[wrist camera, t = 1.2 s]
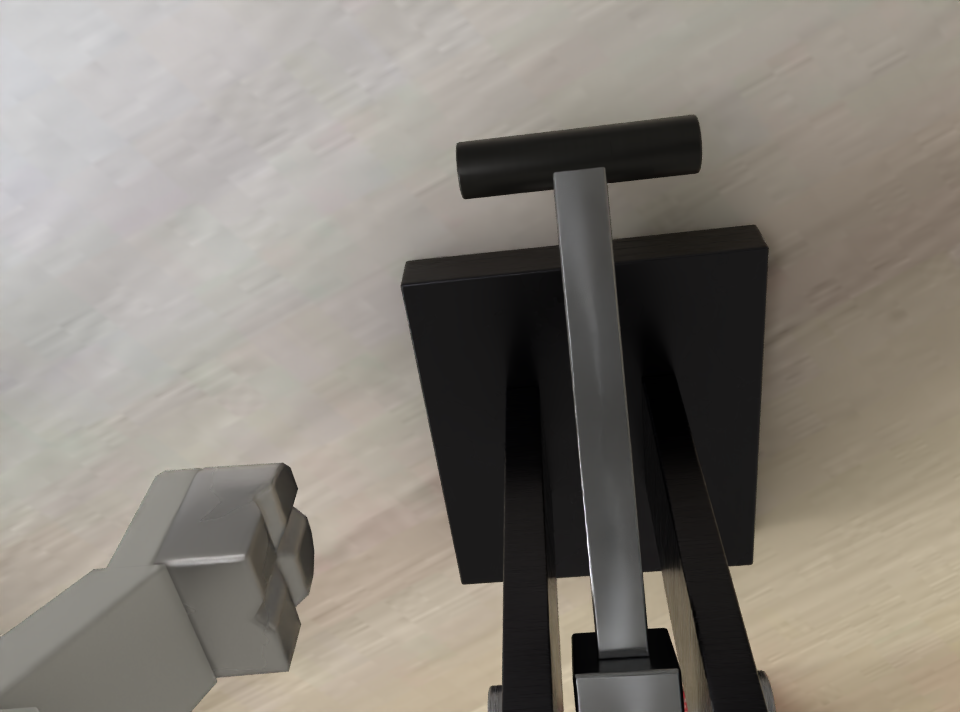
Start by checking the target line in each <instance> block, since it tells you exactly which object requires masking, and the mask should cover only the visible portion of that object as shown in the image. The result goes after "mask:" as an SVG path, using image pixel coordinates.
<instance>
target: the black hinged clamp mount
mask: <svg viewBox="0 0 960 712" xmlns="http://www.w3.org/2000/svg"><path fill="white" fill-rule="evenodd" d="M612 241H613V252H614V263H615V274H616V285H617V296H618V307H619V318H620V329H621V340H622V351H623V362H624V373H625V384H626V395H627V406H628V417H629V428H630V439H631V450H632V461H633V472H634V483H635V494H636V505H637V516H638V527H639V538H640V549H641V560H642V571H643V572H654V571H662V576H663V581H664V587H665V592H666V597H667V603H668V608H669V613H670V619H671V624H672V629H673V634H674V640H675V645H676V650H677V656H678V661H679V666H680V669H681V674H682V682H683V687H684V693H685V698H686V703H687V709H688V712H776V708H775V702H774V696H773V692H772V688H771V684H770V681H769V679H768V677H767V675H766V673H765V672H764V671H762V670H760V671H757V669H756V665H755V662H754V658H753V654H752V651H751V647H750V643H749V640H748V636H747V632H746V629H745V625H744V622H743V618H742V614H741V611H740V607H739V603H738V600H737V596H736V592H735V589H734V585H733V582H732V578H731V574H730V571H729V567H728V566H741V565H752V564H753V552H754V532H755V512H756V492H757V472H758V452H759V432H760V412H761V392H762V372H763V352H764V332H765V312H766V292H767V272H768V252H769V248H768V246H767V244H766V242H765V240H764V239H763V237H762V235H761V233H760V231H759V230H758V228H757V226H756V225H747V226H737V227H728V228H718V229H709V230H699V231H690V232H680V233H671V234H661V235H652V236H642V237H633V238H623V239H614V240H612ZM401 290H402V295H403V300H404V305H405V310H406V315H407V320H408V324H409V329H410V334H411V339H412V344H413V349H414V354H415V359H416V363H417V368H418V373H419V378H420V383H421V388H422V393H423V398H424V402H425V407H426V412H427V417H428V422H429V427H430V432H431V437H432V441H433V446H434V451H435V456H436V461H437V466H438V471H439V476H440V480H441V485H442V490H443V495H444V500H445V505H446V510H447V515H448V519H449V524H450V529H451V534H452V539H453V544H454V549H455V554H456V558H457V563H458V568H459V573H460V578H461V583H462V584H479V583H493V582H503V652H502V685H497V686H491V687H490V688H489V692H488V712H564V708H563V690H562V671H561V653H560V635H559V616H558V598H557V580H556V578H566V577H581V576H590V571H589V560H588V550H587V539H586V528H585V518H584V507H583V496H582V486H581V475H580V465H579V454H578V443H577V433H576V422H575V411H574V401H573V390H572V379H571V369H570V358H569V347H568V337H567V326H566V315H565V305H564V294H563V283H562V273H561V262H560V251H559V245H557V246H547V247H538V248H528V249H519V250H509V251H500V252H491V253H481V254H472V255H462V256H453V257H443V258H434V259H424V260H415V261H407V262H406V264H405V269H404V273H403V278H402V282H401Z"/></svg>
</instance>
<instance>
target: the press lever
mask: <svg viewBox="0 0 960 712" xmlns="http://www.w3.org/2000/svg"><path fill="white" fill-rule="evenodd" d="M456 162H457V173H458V180H459V186H460V191H461V195H462V197H463V199H473V198H482V197H491V196H500V195H509V194H517V193H526V192H535V191H544V190H553V189H554V198H555V209H556V219H557V230H558V241H559V251H560V262H561V273H562V283H563V294H564V305H565V315H566V326H567V337H568V347H569V358H570V369H571V379H572V390H573V401H574V411H575V422H576V433H577V443H578V454H579V465H580V475H581V486H582V496H583V507H584V518H585V528H586V539H587V550H588V560H589V571H590V582H591V592H592V603H593V614H594V624H595V632H590V633H575V634H573V635H572V671H573V686H574V697H575V707H576V712H685V708H684V697H683V686H682V674H681V669H680V666H679V663H678V660H677V657H676V654H675V651H674V648H673V645H672V642H671V639H670V636H669V633H668V630H667V629H666V628H654V629H648V626H647V615H646V604H645V593H644V582H643V571H642V560H641V549H640V538H639V527H638V516H637V505H636V494H635V483H634V472H633V461H632V450H631V439H630V428H629V417H628V406H627V395H626V384H625V373H624V362H623V351H622V340H621V329H620V318H619V307H618V296H617V285H616V274H615V263H614V252H613V241H612V230H611V219H610V208H609V197H608V186H607V183H616V182H625V181H634V180H643V179H652V178H661V177H670V176H679V175H688V174H696V173H699V172H700V169H701V164H702V139H701V131H700V125H699V121H698V118H697V116H696V115H686V116H677V117H669V118H661V119H652V120H644V121H635V122H627V123H618V124H610V125H601V126H593V127H584V128H576V129H568V130H559V131H551V132H542V133H534V134H525V135H517V136H508V137H500V138H491V139H483V140H474V141H466V142H459V143H457V145H456Z"/></svg>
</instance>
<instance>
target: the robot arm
mask: <svg viewBox="0 0 960 712" xmlns="http://www.w3.org/2000/svg"><path fill="white" fill-rule="evenodd" d="M297 491H298V487H297V485H296V482H295V479H294V476H293V474H292V471H291V468H290V467H289V466H287V465H286V464H284V463H270V464H254V465H238V466H221V467H205V468H203V469H201V468H195V469H182V470H168V471H164V472H162V473H160V474H159V475H157V476H156V477H155V478H154V480H153V482H152V484H151V485H150V487H149V489H148V491H147V493H146V495H145V497H144V498H143V500H142V502H141V504H140V506H139V508H138V510H137V512H136V513H135V515H134V517H133V519H132V521H131V523H130V525H129V526H128V528H127V530H126V532H125V534H124V536H123V538H122V540H121V541H120V543H119V545H118V547H117V549H116V551H115V553H114V554H113V556H112V558H111V560H110V562H109V564H108V566H107V568H104V569H93V570H92V571H91V572H89V573H88V574H87V575H85V576H84V577H82V578H81V579H80V580H78V581H77V582H76V583H74V584H73V585H72V586H70V587H69V588H67V589H66V590H65V591H63V592H62V593H61V594H59V595H58V596H56V597H55V598H54V599H52V600H51V601H50V602H48V603H47V604H46V605H44V606H43V607H41V608H40V609H39V610H37V611H36V612H35V613H33V614H32V615H30V616H29V617H28V618H26V619H25V620H24V621H22V622H21V623H20V624H18V625H17V626H15V627H14V628H13V629H11V630H10V631H9V632H7V633H6V634H4V635H3V636H2V637H0V712H191V711H192V710H193V709H194V708H195V707H196V705H197V704H198V703H199V702H200V701H201V700H202V699H203V697H204V696H205V695H206V694H207V693H208V692H209V691H210V689H211V688H212V687H213V686H214V685H215V684H216V683H217V679H216V678H219V677H230V676H242V675H253V674H265V673H276V672H287V671H289V668H290V664H291V661H292V657H293V653H294V649H295V646H296V642H297V638H298V634H299V630H300V627H301V623H300V620H299V617H298V614H297V611H296V608H295V607H296V606H297V605H298V604H299V603H300V602H301V601H302V600H303V599H305V598H306V597H307V596H308V595H309V592H310V587H311V583H312V579H313V573H314V545H313V539H312V532H311V529H310V526H309V522H308V519H307V517H306V516H305V515H304V514H302V513H301V512H300V511H299V510H297V509H296V508H295V507H293V504H294V500H295V497H296V494H297Z"/></svg>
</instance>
